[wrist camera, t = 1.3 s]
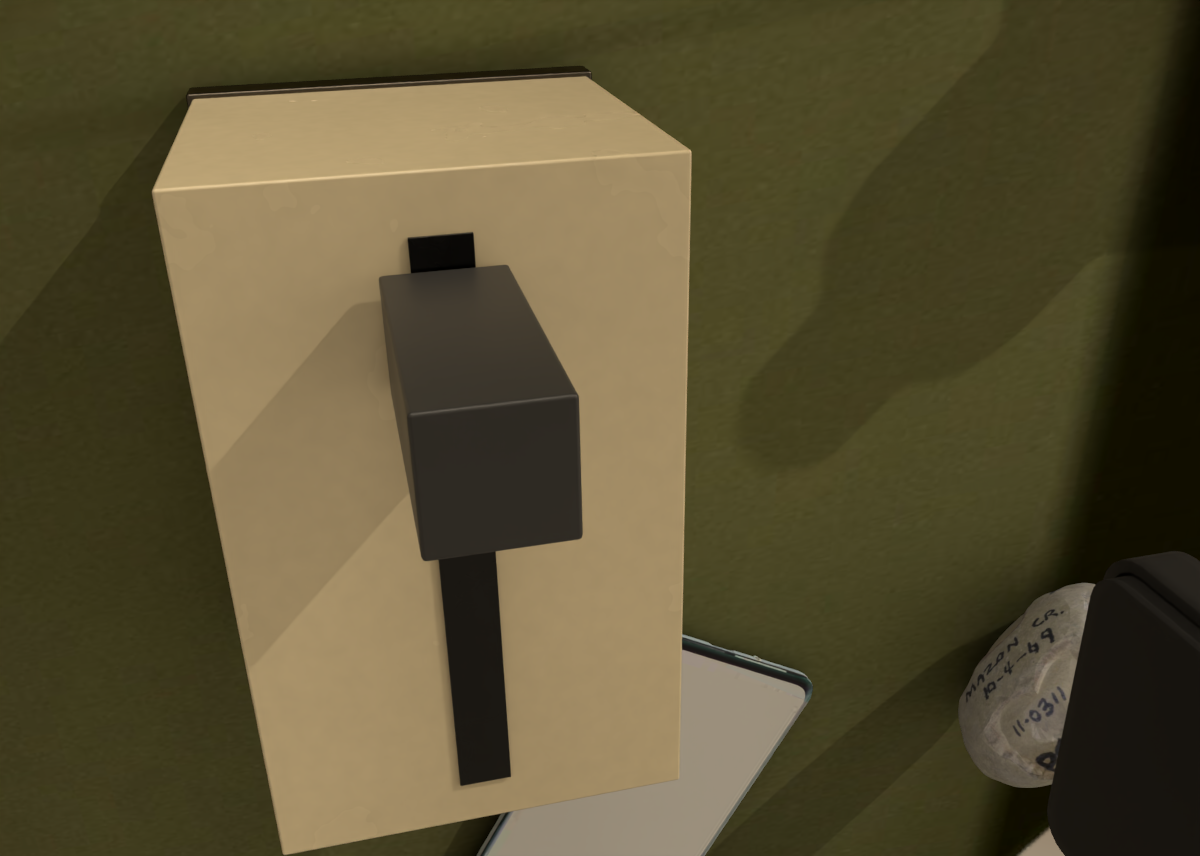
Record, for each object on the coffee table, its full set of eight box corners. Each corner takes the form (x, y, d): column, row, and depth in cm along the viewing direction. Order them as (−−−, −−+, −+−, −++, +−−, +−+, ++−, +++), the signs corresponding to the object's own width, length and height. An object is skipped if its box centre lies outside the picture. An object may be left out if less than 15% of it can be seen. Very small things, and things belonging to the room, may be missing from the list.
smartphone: (821, 682, 33) (588, 1029, 37) (814, 671, 34) (584, 1015, 38) (621, 619, 30) (394, 1003, 35) (616, 608, 31) (392, 988, 35)
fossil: (978, 723, 37) (1070, 839, 32) (901, 696, 35) (986, 812, 31) (1098, 566, 35) (1214, 666, 30) (1022, 531, 33) (1131, 630, 29)
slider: (377, 275, 17) (406, 414, 13) (508, 263, 17) (580, 395, 13) (391, 395, 18) (422, 564, 14) (515, 381, 18) (583, 540, 14)
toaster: (188, 87, 23) (141, 184, 16) (583, 65, 24) (700, 143, 17) (282, 620, 29) (278, 863, 22) (595, 573, 30) (685, 784, 23)
